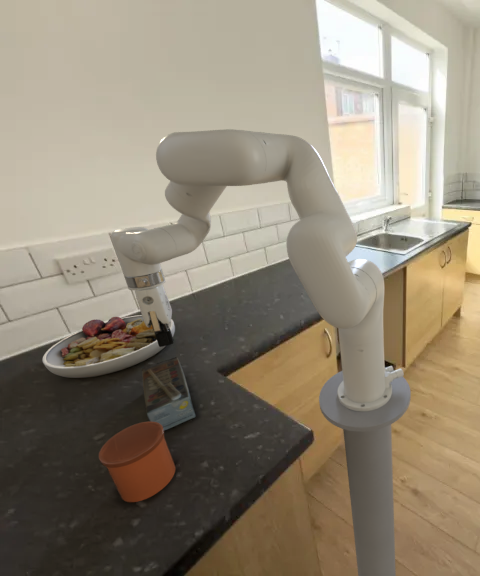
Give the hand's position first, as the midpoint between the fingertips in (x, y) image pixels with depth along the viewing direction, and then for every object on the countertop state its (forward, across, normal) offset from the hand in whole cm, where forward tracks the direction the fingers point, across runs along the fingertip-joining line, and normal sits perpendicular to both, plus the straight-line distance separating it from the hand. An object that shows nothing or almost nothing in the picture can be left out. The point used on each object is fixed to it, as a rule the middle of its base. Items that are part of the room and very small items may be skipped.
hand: (166, 344), depth 84 cm
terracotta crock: (+7, -37, +2) cm, 38 cm away
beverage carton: (+8, -16, 0) cm, 18 cm away
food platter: (+8, +18, +15) cm, 25 cm away
